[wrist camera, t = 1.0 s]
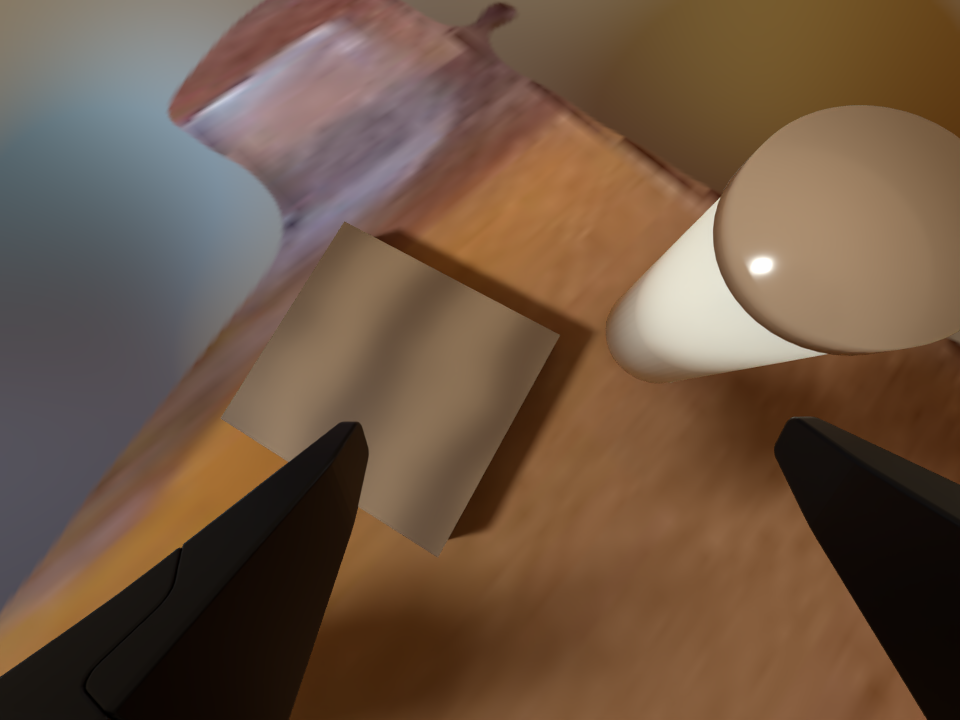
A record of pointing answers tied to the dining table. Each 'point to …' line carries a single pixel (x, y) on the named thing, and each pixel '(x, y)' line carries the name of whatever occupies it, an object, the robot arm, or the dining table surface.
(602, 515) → the dining table surface
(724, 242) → the cream jar
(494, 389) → the beige rectangular box
